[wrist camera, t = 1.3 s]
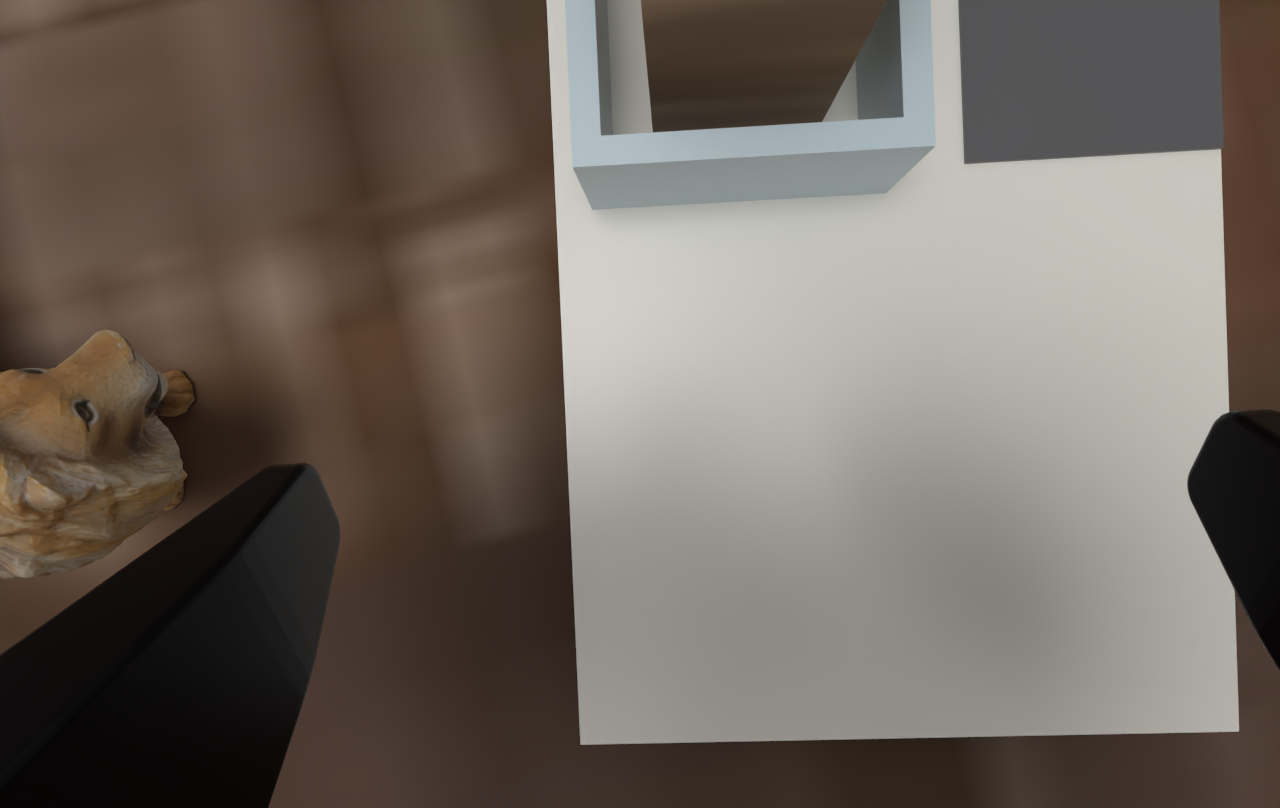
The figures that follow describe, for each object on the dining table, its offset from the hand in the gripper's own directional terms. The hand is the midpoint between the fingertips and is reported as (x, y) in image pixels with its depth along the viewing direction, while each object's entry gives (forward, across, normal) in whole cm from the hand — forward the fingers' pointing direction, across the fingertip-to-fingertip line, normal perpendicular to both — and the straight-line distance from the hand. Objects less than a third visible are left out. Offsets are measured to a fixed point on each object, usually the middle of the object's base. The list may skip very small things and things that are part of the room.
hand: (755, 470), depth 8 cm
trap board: (+12, -5, +4) cm, 13 cm away
